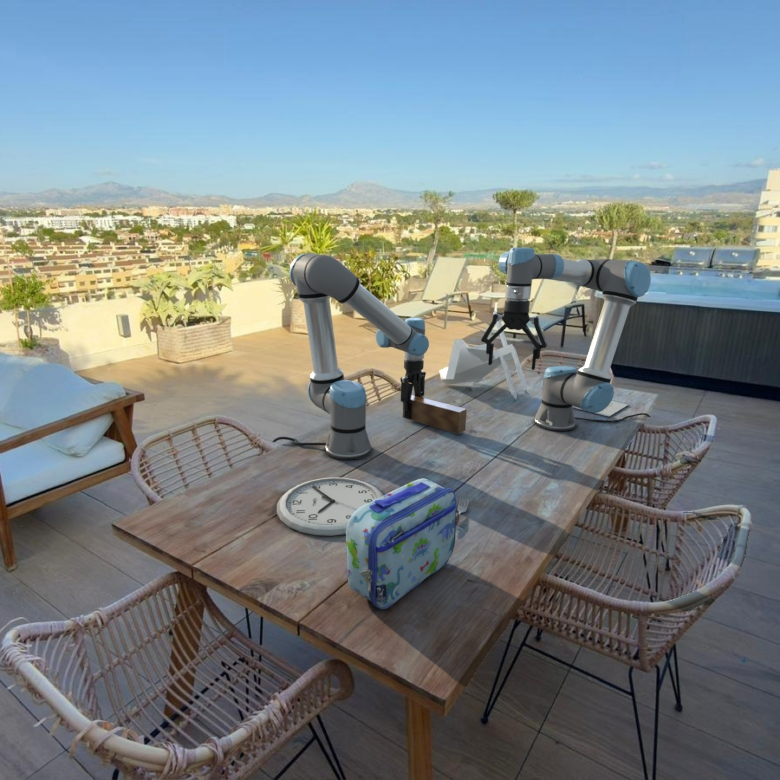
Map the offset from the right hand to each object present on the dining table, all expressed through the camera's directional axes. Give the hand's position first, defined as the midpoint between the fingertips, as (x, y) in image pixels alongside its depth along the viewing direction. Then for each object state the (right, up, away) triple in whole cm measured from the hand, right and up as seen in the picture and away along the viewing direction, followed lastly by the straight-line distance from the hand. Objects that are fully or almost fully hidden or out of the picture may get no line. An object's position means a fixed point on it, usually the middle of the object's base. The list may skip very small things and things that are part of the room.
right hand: (511, 366), depth 167 cm
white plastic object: (+3, -9, +76) cm, 77 cm away
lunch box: (-36, -49, -54) cm, 81 cm away
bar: (-22, -20, +34) cm, 45 cm away
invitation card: (+53, -15, +59) cm, 81 cm away
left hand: (-30, -18, +39) cm, 53 cm away
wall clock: (-55, -39, -24) cm, 71 cm away
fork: (-21, -41, -30) cm, 55 cm away
